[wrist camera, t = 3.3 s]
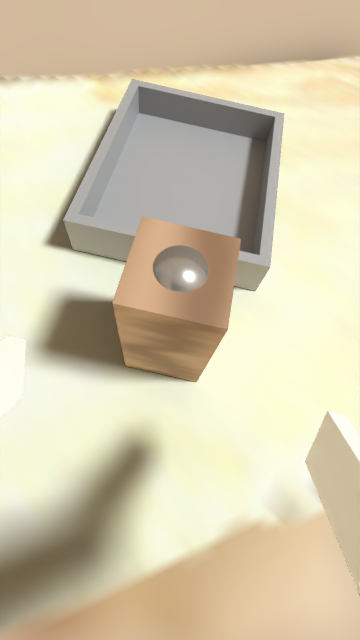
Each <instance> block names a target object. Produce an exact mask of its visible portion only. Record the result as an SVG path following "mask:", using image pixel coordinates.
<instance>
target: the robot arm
mask: <svg viewBox="0 0 360 640" xmlns="http://www.w3.org/2000/svg"><path fill="white" fill-rule="evenodd" d="M25 350H26V340H24V339H19V338H15V337H11V336H8V337H6V338H4V339H3V340H1V341H0V416H2V415H3V414H4V413H5V412H6V411H7V410H8V409H9V408H10V407H11V406H12V405H13V404H14V403H15V402H16V401H17V400H18V399H19V398H20V397H21V396H22V395H23V383H24V366H25ZM305 462H306V465H307V467H308V470H309V472H310V474H311V477H312V479H313V482H314V484H315V487H316V489H317V492H318V494H319V497H320V499H321V502H322V504H323V506H324V509H325V511H326V514H327V516H328V519H329V521H330V524H331V526H332V528H333V531H334V534H335V536H336V538H337V541H338V543H339V546H340V548H341V551H342V553H343V555H344V558H345V560H346V563H347V566H348V568H349V570H350V573H351V575H352V578H353V580H354V583H355V585H356V587H357V590H358V592H359V595H360V435H359V434H358V432H357V431H356V429H355V428H354V427H353V425H352V424H351V422H350V421H349V420H348V418H347V417H346V415H343V414H339V413H335V412H331V411H327V413H326V416H325V418H324V420H323V422H322V425H321V427H320V429H319V431H318V434H317V436H316V438H315V440H314V443H313V445H312V447H311V449H310V452H309V454H308V456H307V458H306V461H305Z"/></svg>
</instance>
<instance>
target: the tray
mask: <svg viewBox="0 0 360 640" xmlns="http://www.w3.org/2000/svg"><path fill="white" fill-rule="evenodd" d="M283 121H284V114H283V113H279V112H275V111H270V110H266V109H261V108H257V107H253V106H248V105H244V104H239V103H235V102H231V101H226V100H222V99H218V98H213V97H209V96H204V95H200V94H196V93H191V92H187V91H182V90H178V89H174V88H169V87H165V86H160V85H156V84H152V83H147V82H143V81H138V80H134V79H132V80H131V82H130V84H129V86H128V89H127V91H126V93H125V95H124V97H123V99H122V101H121V103H120V105H119V107H118V109H117V111H116V113H115V115H114V117H113V119H112V121H111V123H110V125H109V127H108V129H107V131H106V133H105V135H104V137H103V140H102V142H101V144H100V146H99V148H98V150H97V152H96V154H95V156H94V158H93V160H92V162H91V164H90V166H89V168H88V170H87V172H86V174H85V176H84V178H83V180H82V182H81V184H80V186H79V188H78V190H77V193H76V195H75V197H74V199H73V201H72V203H71V205H70V207H69V209H68V211H67V213H66V215H65V217H64V219H63V221H64V224H65V227H66V230H67V233H68V236H69V239H70V242H71V245H72V248H73V250H77V251H81V252H86V253H90V254H95V255H99V256H103V257H108V258H112V259H117V260H121V261H125V262H127V259H128V256H129V253H130V250H131V247H132V244H133V241H134V238H135V235H136V232H137V230H138V227H139V224H140V221H141V218H142V216H143V217H148V218H152V219H156V220H161V221H165V222H170V223H174V224H178V225H183V226H187V227H192V228H196V229H200V230H205V231H209V232H214V233H218V234H222V235H227V236H231V237H236V238H240V239H241V243H240V250H239V257H238V263H237V270H236V277H235V283H234V286H236V287H240V288H244V289H249V290H253V291H256V289H257V287H258V286H259V284H260V283H261V281H262V279H263V278H264V276H265V275H266V273H267V271H268V270H269V268H270V263H271V252H272V241H273V230H274V219H275V208H276V197H277V187H278V176H279V165H280V154H281V143H282V132H283Z"/></svg>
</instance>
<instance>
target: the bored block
mask: <svg viewBox="0 0 360 640" xmlns="http://www.w3.org/2000/svg"><path fill="white" fill-rule="evenodd" d="M240 243H241V239H240V238H236V237H231V236H227V235H222V234H218V233H214V232H209V231H205V230H200V229H196V228H192V227H187V226H183V225H178V224H174V223H170V222H165V221H161V220H156V219H152V218H148V217H143V216H142V218H141V221H140V224H139V227H138V230H137V232H136V235H135V238H134V241H133V244H132V247H131V250H130V253H129V256H128V259H127V262H126V264H125V267H124V270H123V273H122V276H121V279H120V282H119V285H118V288H117V291H116V293H115V296H114V299H113V302H112V305H113V309H114V314H115V319H116V324H117V328H118V333H119V338H120V342H121V347H122V352H123V357H124V361H125V366H128V367H132V368H136V369H141V370H145V371H150V372H154V373H158V374H163V375H167V376H172V377H176V378H181V379H185V380H189V381H194V382H197V380H198V379H199V377H200V375H201V373H202V372H203V370H204V368H205V367H206V365H207V363H208V362H209V360H210V358H211V357H212V355H213V353H214V352H215V350H216V348H217V347H218V345H219V343H220V341H221V340H222V338H223V336H224V335H225V333H226V331H227V330H228V324H229V317H230V310H231V304H232V297H233V290H234V283H235V277H236V270H237V263H238V257H239V250H240Z"/></svg>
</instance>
